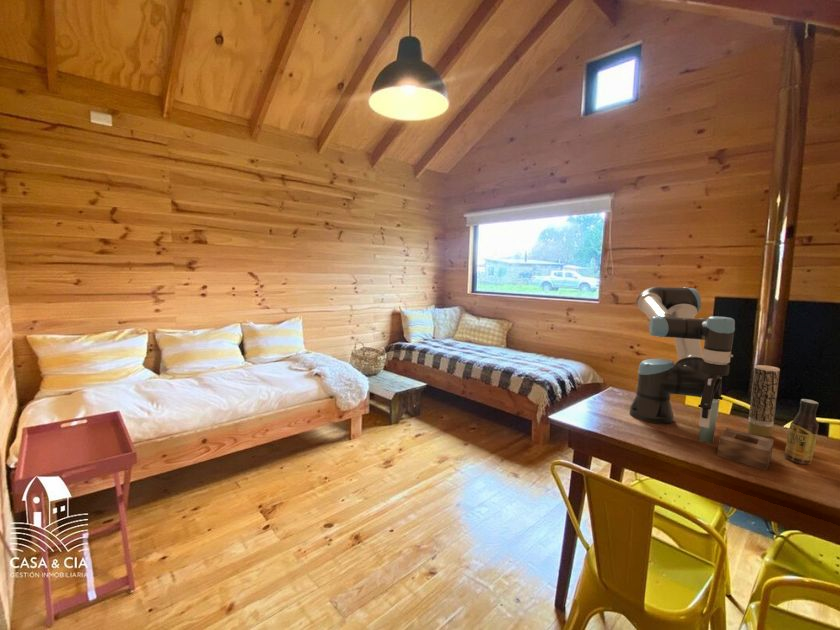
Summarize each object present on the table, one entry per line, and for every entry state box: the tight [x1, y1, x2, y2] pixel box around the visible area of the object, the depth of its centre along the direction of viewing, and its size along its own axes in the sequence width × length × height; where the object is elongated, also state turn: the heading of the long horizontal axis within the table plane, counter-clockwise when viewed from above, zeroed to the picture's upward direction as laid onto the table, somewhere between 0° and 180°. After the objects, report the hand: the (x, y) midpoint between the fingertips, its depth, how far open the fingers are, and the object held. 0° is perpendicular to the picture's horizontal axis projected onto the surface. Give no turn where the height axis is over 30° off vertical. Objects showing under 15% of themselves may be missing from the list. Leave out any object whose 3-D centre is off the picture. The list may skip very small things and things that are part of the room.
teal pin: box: [698, 401, 718, 444], centre depth 134 cm, size 4×4×14 cm
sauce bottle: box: [784, 398, 820, 465], centre depth 121 cm, size 6×6×20 cm
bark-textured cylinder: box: [747, 364, 781, 438], centre depth 140 cm, size 7×7×25 cm
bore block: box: [716, 427, 775, 471], centre depth 123 cm, size 12×12×6 cm
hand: (708, 421), depth 134 cm, fingers open, 13 cm apart
